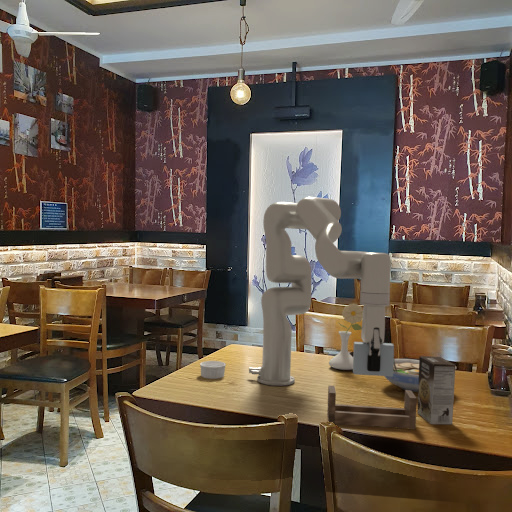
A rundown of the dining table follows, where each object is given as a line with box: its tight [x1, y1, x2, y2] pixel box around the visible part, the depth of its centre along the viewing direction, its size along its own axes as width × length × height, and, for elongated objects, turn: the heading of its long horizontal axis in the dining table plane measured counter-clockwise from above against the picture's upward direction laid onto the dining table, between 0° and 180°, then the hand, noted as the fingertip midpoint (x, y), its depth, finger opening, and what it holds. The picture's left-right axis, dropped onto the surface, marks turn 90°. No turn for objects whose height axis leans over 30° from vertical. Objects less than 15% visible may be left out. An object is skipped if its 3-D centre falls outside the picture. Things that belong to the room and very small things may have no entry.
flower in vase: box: [328, 302, 363, 371], centre depth 190 cm, size 13×11×25 cm
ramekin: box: [199, 360, 227, 380], centre depth 174 cm, size 9×9×4 cm
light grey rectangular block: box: [352, 341, 395, 377], centre depth 132 cm, size 10×3×8 cm, turn 84°
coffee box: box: [416, 355, 456, 425], centre depth 137 cm, size 9×6×16 cm
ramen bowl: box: [384, 358, 419, 393], centre depth 166 cm, size 25×23×8 cm
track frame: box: [327, 384, 418, 430], centre depth 133 cm, size 22×7×8 cm, turn 84°
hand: (372, 368), depth 132 cm, fingers closed on light grey rectangular block, 3 cm apart
